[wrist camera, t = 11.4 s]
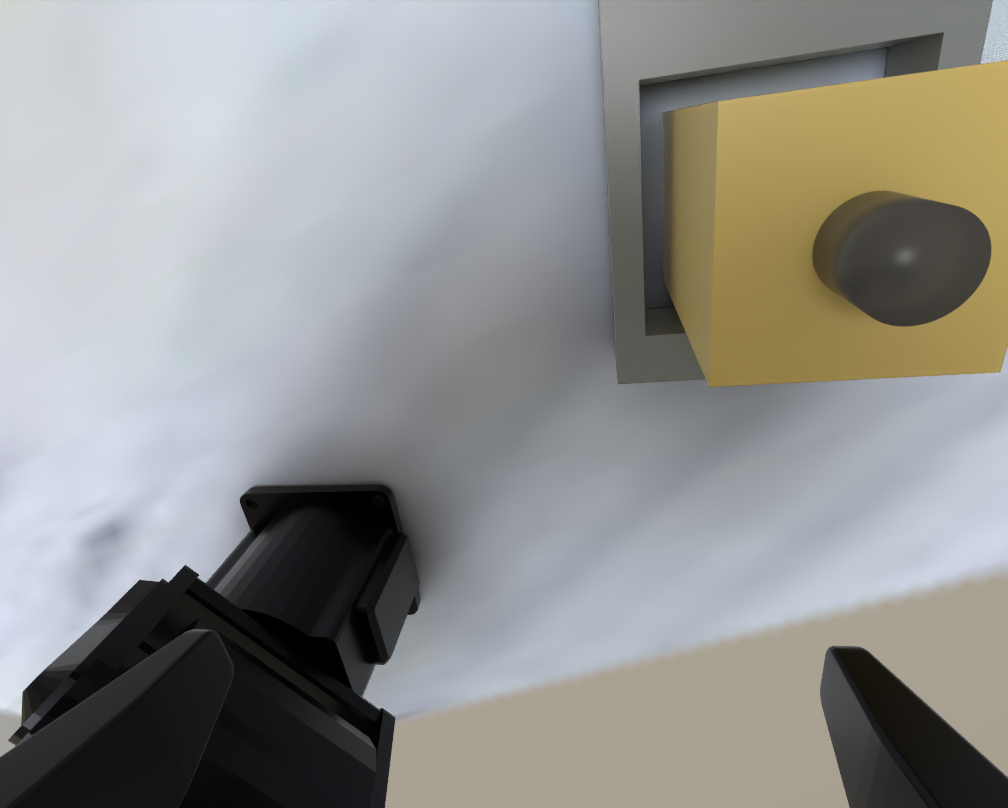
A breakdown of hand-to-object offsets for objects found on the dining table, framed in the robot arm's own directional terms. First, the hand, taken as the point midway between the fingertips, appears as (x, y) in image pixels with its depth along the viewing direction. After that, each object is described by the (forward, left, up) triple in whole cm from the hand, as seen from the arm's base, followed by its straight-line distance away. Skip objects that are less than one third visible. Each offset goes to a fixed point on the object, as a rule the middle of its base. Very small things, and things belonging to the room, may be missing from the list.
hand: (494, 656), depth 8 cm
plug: (+6, +4, -12) cm, 14 cm away
